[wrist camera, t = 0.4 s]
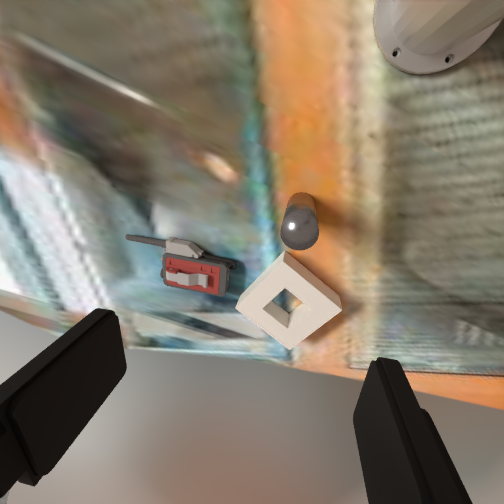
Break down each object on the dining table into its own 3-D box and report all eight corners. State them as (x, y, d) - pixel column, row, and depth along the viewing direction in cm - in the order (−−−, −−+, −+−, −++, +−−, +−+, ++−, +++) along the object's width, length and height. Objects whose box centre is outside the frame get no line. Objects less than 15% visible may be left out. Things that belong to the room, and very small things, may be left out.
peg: (300, 186, 37) (298, 206, 26) (320, 204, 37) (327, 231, 26) (281, 207, 38) (272, 234, 28) (301, 224, 39) (300, 257, 28)
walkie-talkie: (239, 248, 43) (130, 228, 45) (232, 259, 39) (113, 237, 41) (235, 291, 47) (134, 271, 49) (228, 305, 43) (119, 283, 45)
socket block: (284, 250, 41) (282, 261, 38) (339, 295, 43) (342, 310, 39) (240, 295, 46) (235, 308, 43) (290, 334, 48) (289, 350, 44)
